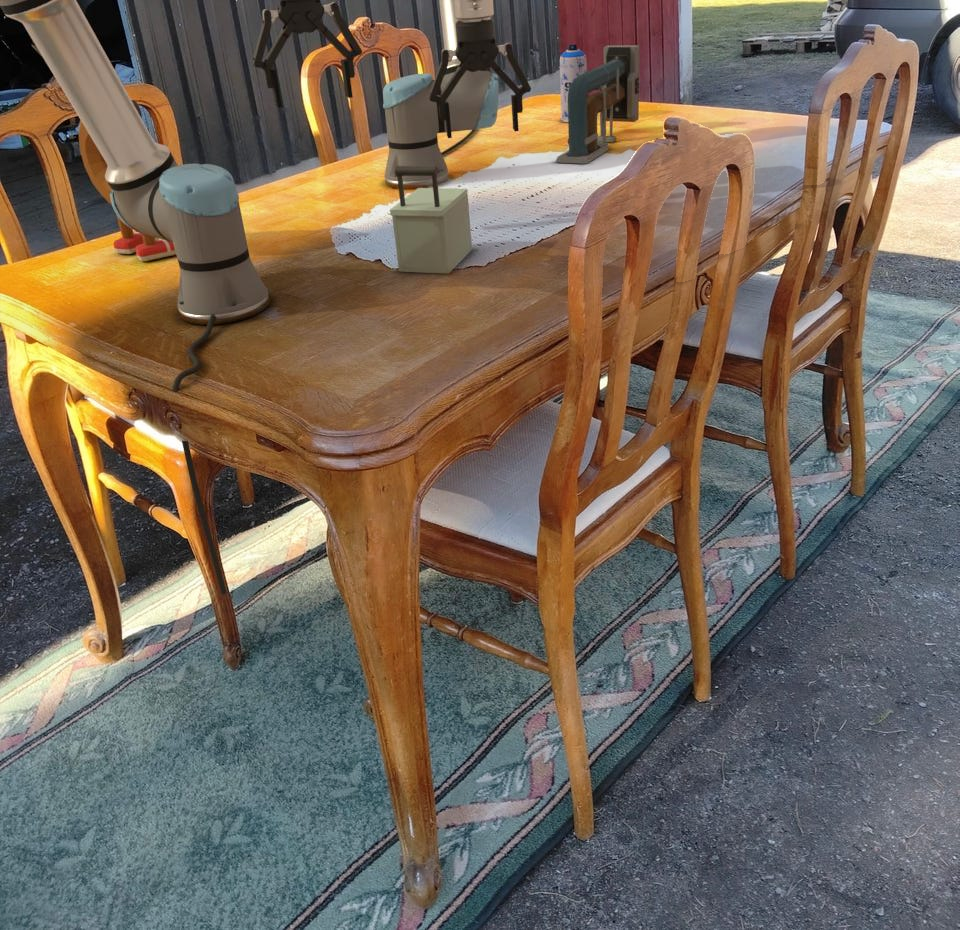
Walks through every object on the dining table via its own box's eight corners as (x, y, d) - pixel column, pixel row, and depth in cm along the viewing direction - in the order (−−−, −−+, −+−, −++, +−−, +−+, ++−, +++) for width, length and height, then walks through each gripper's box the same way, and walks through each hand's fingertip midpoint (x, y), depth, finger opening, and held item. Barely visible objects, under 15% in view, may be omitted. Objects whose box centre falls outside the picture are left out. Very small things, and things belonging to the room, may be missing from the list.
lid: (442, 216, 167) (437, 169, 163) (390, 215, 170) (384, 169, 166) (467, 194, 178) (464, 150, 174) (418, 193, 181) (414, 150, 177)
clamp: (586, 163, 233) (584, 69, 222) (553, 162, 237) (550, 69, 226) (638, 131, 258) (639, 45, 248) (607, 130, 262) (607, 45, 251)
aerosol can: (559, 122, 275) (557, 47, 265) (562, 117, 282) (559, 42, 272) (587, 121, 274) (585, 45, 263) (589, 115, 280) (587, 41, 270)
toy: (199, 253, 194) (163, 96, 179) (154, 268, 188) (113, 106, 173) (144, 236, 207) (106, 89, 192) (101, 250, 201) (58, 98, 186)
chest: (448, 273, 173) (443, 216, 168) (398, 271, 176) (391, 214, 171) (472, 249, 184) (467, 194, 178) (424, 248, 187) (418, 194, 181)
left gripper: (358, -32, 178) (372, 90, 189) (222, -18, 172) (245, 107, 182) (368, -30, 172) (382, 95, 183) (228, -17, 165) (251, 113, 176)
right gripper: (410, 27, 181) (422, 143, 192) (542, 15, 183) (546, 130, 193) (408, 23, 187) (420, 135, 198) (535, 11, 189) (540, 123, 200)
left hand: (314, 101), depth 183 cm, fingers open, 13 cm apart
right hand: (482, 133), depth 196 cm, fingers open, 13 cm apart
